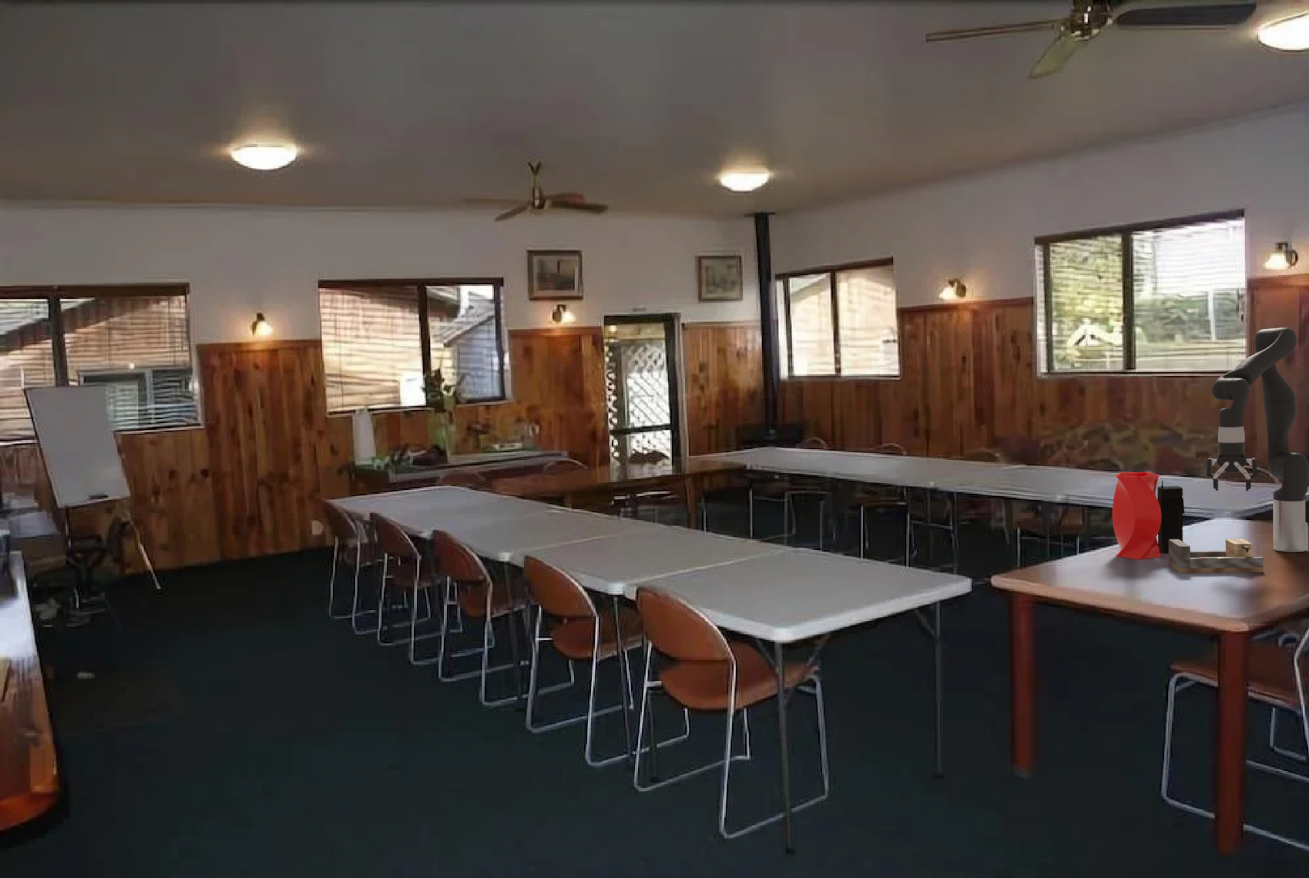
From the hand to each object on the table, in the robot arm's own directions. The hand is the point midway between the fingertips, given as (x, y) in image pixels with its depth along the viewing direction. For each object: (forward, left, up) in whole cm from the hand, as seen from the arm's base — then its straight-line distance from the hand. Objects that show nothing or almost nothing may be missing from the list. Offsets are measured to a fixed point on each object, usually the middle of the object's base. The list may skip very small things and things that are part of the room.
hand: (1231, 490), depth 336 cm
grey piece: (+8, +8, -24) cm, 26 cm away
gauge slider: (+1, +9, -22) cm, 24 cm away
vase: (+26, -15, -24) cm, 38 cm away
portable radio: (+13, -20, -24) cm, 34 cm away
